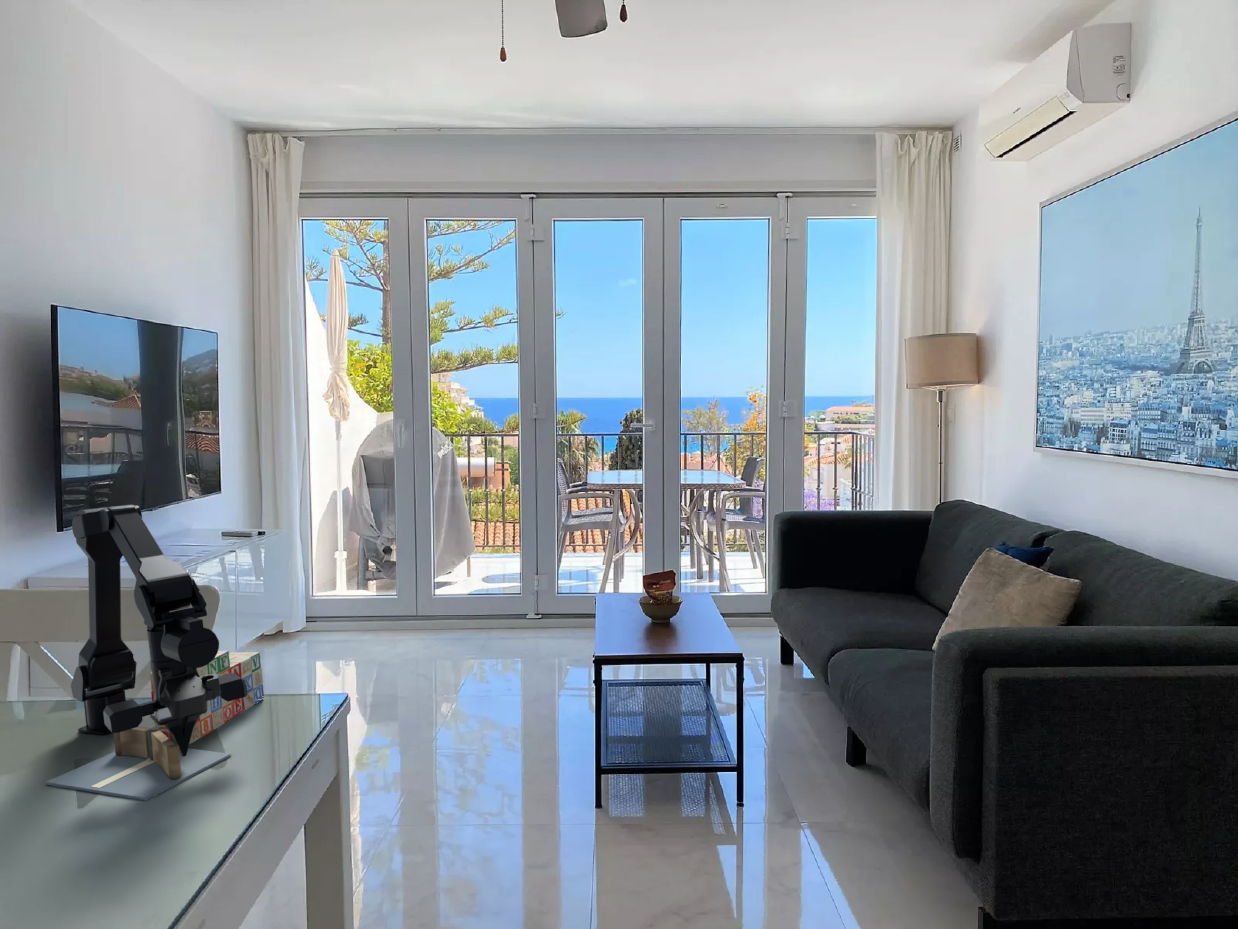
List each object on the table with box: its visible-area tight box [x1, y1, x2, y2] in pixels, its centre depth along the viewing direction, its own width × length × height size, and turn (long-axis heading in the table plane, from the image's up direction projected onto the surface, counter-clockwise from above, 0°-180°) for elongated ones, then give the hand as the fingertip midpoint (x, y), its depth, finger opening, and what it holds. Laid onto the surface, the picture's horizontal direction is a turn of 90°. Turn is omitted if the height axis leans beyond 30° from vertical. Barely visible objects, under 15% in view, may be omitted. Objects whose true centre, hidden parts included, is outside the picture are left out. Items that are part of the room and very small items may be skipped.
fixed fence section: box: [113, 725, 150, 758], centre depth 136 cm, size 7×2×5 cm, turn 69°
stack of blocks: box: [149, 650, 265, 745], centre depth 152 cm, size 21×6×12 cm, turn 170°
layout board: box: [45, 747, 232, 802], centre depth 132 cm, size 20×16×1 cm
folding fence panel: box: [147, 726, 182, 779], centre depth 131 cm, size 12×2×5 cm, turn 42°
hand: (184, 755), depth 131 cm, fingers closed
